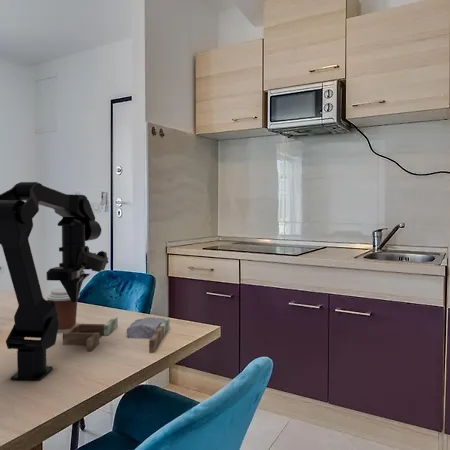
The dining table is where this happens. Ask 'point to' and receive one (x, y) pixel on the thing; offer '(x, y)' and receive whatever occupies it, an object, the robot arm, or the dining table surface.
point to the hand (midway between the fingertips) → (74, 302)
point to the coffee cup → (64, 309)
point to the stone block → (144, 327)
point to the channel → (106, 334)
